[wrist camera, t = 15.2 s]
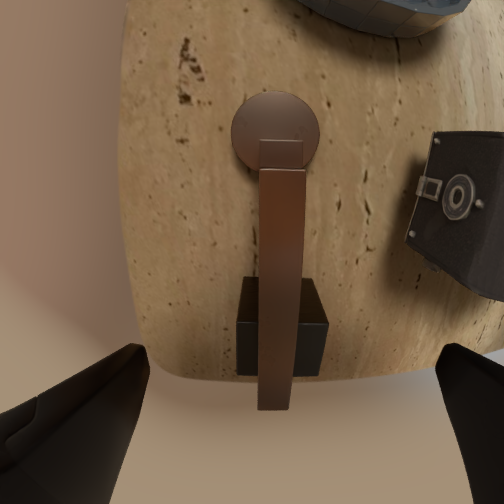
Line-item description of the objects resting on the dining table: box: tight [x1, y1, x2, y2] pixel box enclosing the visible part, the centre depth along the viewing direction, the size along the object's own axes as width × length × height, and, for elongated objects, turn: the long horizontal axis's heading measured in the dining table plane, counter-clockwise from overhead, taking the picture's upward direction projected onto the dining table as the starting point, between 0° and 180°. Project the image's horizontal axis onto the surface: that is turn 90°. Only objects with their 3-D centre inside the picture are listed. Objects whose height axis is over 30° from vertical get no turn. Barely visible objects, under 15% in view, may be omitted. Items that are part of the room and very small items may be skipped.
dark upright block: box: [236, 276, 329, 377], centre depth 18 cm, size 4×5×6 cm
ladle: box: [231, 91, 320, 410], centre depth 15 cm, size 18×5×8 cm, turn 0°
